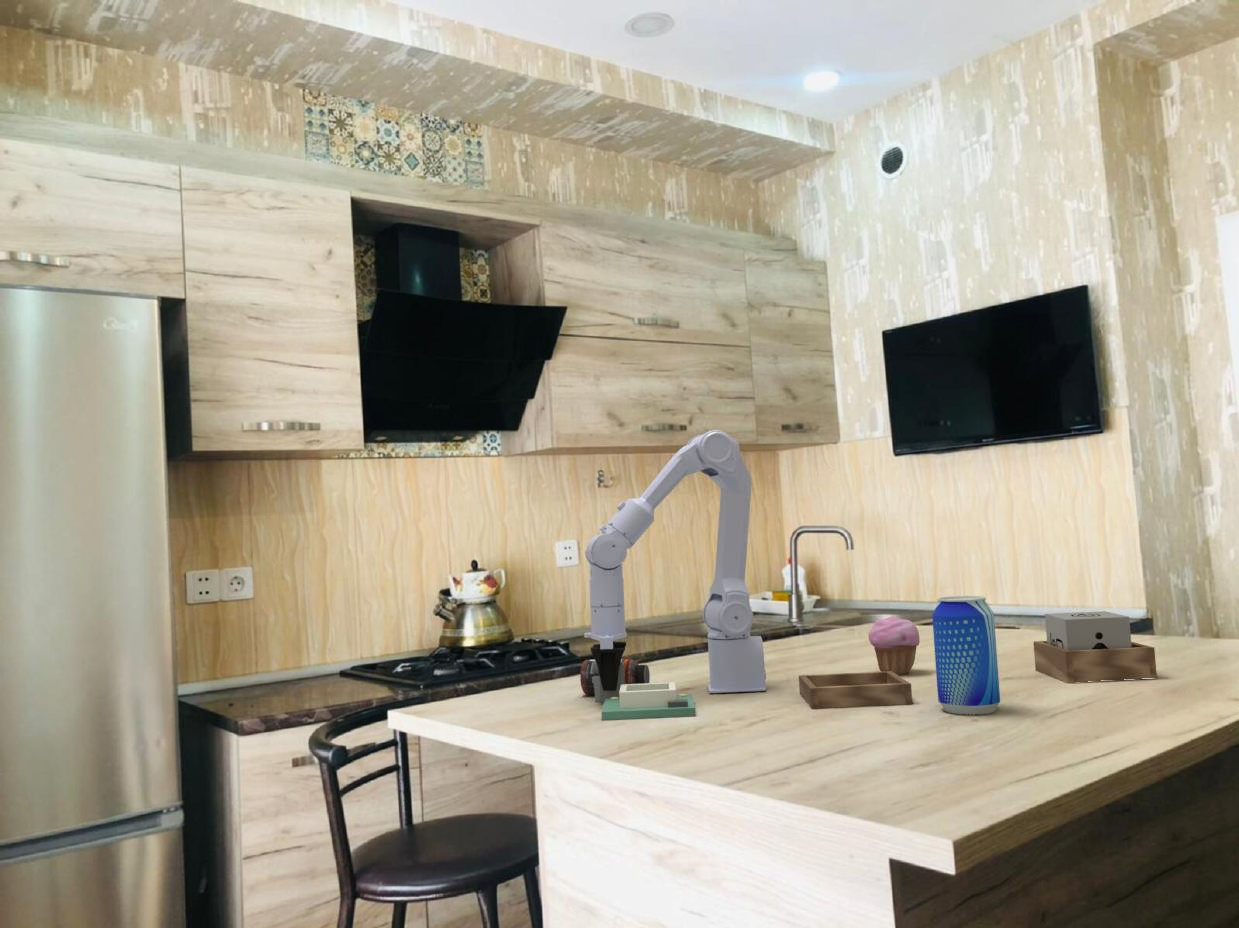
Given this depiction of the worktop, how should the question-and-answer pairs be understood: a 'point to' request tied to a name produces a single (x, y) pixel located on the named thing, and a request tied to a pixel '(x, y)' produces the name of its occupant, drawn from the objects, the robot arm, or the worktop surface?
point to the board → (649, 709)
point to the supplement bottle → (631, 668)
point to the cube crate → (1095, 663)
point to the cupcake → (894, 644)
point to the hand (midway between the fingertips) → (610, 688)
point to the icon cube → (1088, 630)
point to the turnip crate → (855, 689)
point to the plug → (602, 695)
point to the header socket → (647, 695)
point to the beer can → (966, 655)
